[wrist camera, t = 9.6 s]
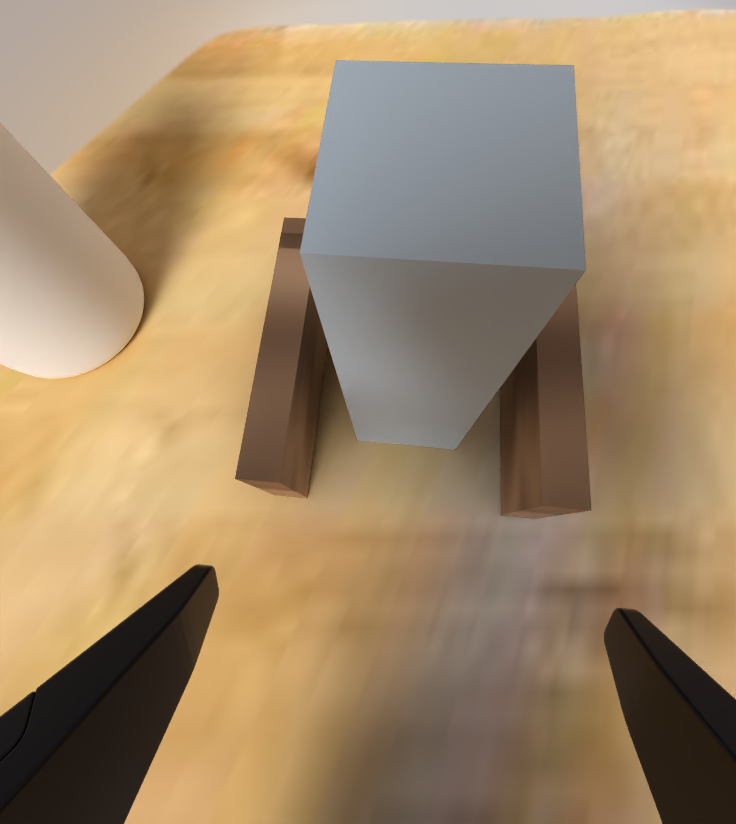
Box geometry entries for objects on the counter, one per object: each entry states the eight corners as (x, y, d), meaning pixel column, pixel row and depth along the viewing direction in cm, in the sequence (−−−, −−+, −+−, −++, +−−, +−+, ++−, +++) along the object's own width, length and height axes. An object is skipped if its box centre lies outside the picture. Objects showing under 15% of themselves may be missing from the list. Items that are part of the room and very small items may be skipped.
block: (454, 449, 19) (585, 270, 6) (357, 440, 19) (299, 252, 7) (459, 359, 20) (573, 65, 8) (367, 352, 20) (335, 60, 8)
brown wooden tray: (536, 518, 18) (591, 510, 13) (274, 494, 18) (234, 478, 14) (530, 300, 21) (572, 229, 16) (306, 289, 22) (284, 217, 17)
